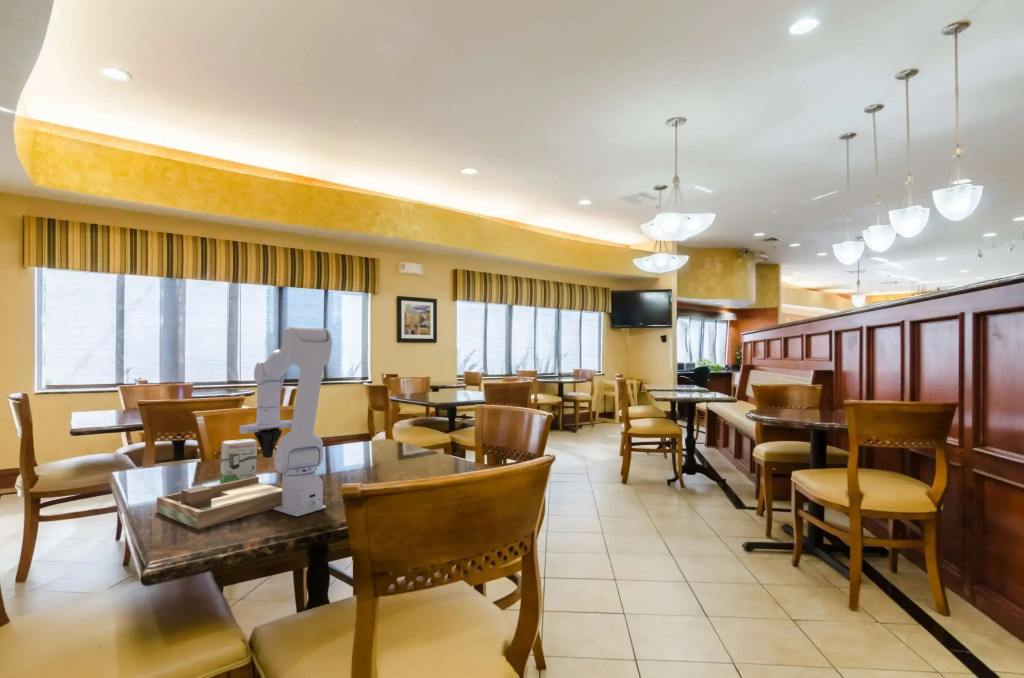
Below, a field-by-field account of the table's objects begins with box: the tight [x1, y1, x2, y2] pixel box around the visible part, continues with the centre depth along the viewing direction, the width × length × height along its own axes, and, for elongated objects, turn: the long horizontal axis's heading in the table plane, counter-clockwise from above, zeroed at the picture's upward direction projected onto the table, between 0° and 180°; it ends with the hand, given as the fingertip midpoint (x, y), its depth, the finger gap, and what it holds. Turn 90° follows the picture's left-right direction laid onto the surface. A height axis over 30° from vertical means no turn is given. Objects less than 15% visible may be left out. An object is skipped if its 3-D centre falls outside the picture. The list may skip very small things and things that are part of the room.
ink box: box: [219, 438, 258, 484], centre depth 144 cm, size 9×5×12 cm, turn 132°
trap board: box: [156, 476, 282, 530], centre depth 120 cm, size 20×24×4 cm
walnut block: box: [180, 485, 212, 509], centre depth 113 cm, size 4×4×4 cm
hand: (267, 457), depth 133 cm, fingers closed
